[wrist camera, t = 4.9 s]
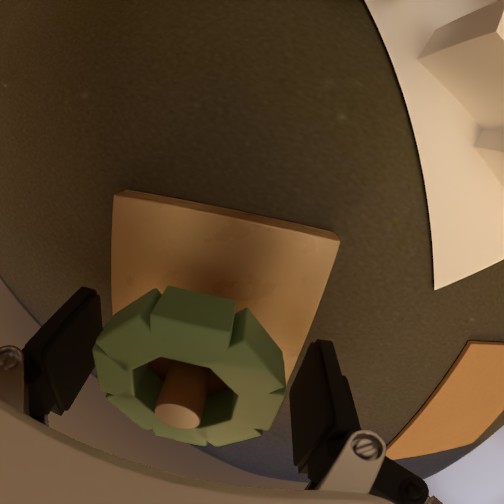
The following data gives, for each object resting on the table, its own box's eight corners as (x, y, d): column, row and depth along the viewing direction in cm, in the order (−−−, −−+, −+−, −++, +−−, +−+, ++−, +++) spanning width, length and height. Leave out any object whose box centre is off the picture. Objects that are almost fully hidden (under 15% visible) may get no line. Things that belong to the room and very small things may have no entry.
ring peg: (124, 348, 15) (76, 438, 9) (125, 188, 12) (20, 242, 5) (279, 382, 15) (283, 486, 9) (334, 231, 12) (395, 324, 6)
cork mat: (374, 458, 19) (375, 461, 19) (468, 340, 14) (471, 343, 14) (471, 440, 20) (472, 443, 20) (547, 343, 15) (549, 345, 14)
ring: (119, 392, 10) (106, 419, 9) (108, 269, 8) (83, 295, 7) (257, 424, 11) (256, 455, 9) (302, 311, 9) (308, 346, 7)
